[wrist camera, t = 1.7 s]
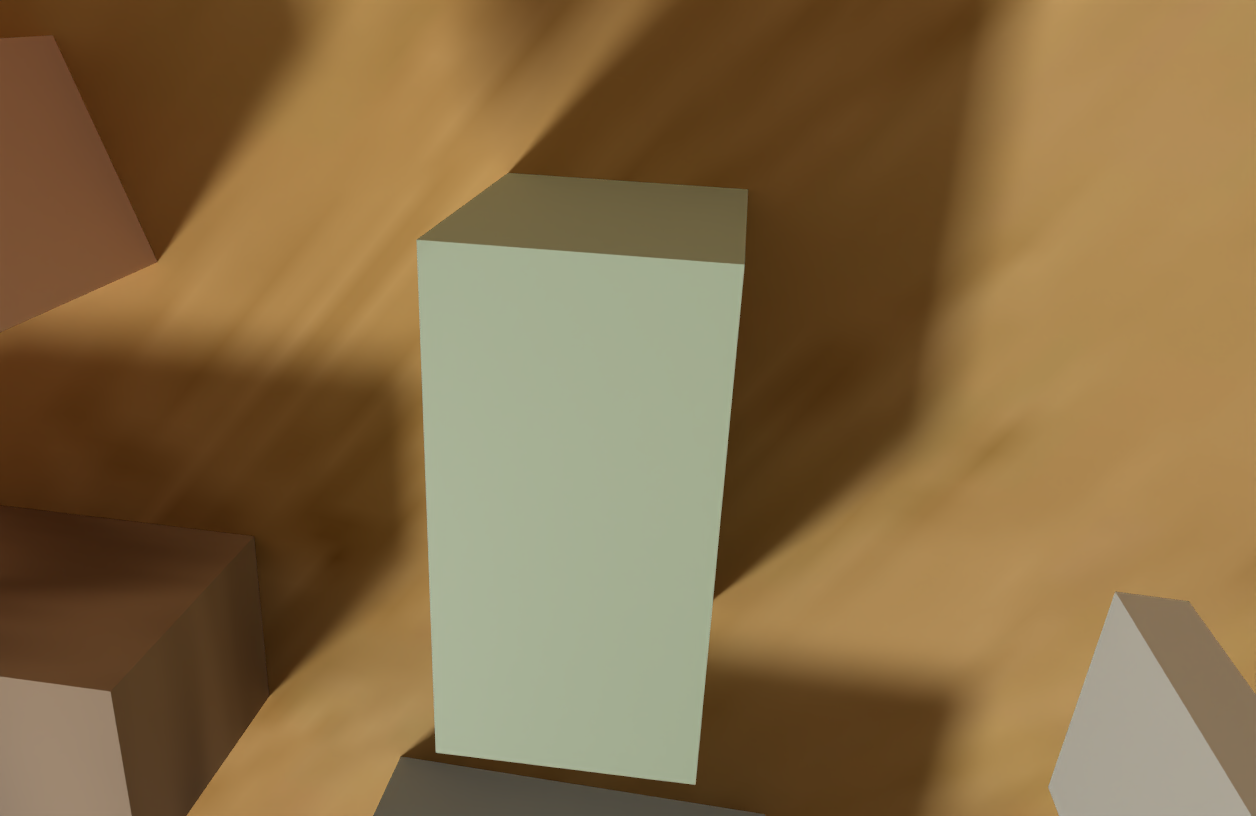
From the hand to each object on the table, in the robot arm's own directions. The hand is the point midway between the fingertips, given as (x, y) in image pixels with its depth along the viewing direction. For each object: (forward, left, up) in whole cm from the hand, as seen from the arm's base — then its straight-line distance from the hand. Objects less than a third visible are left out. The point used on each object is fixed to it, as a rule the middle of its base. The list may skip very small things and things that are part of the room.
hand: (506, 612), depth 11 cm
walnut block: (+11, +6, -7) cm, 14 cm away
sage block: (0, 0, -7) cm, 7 cm away
